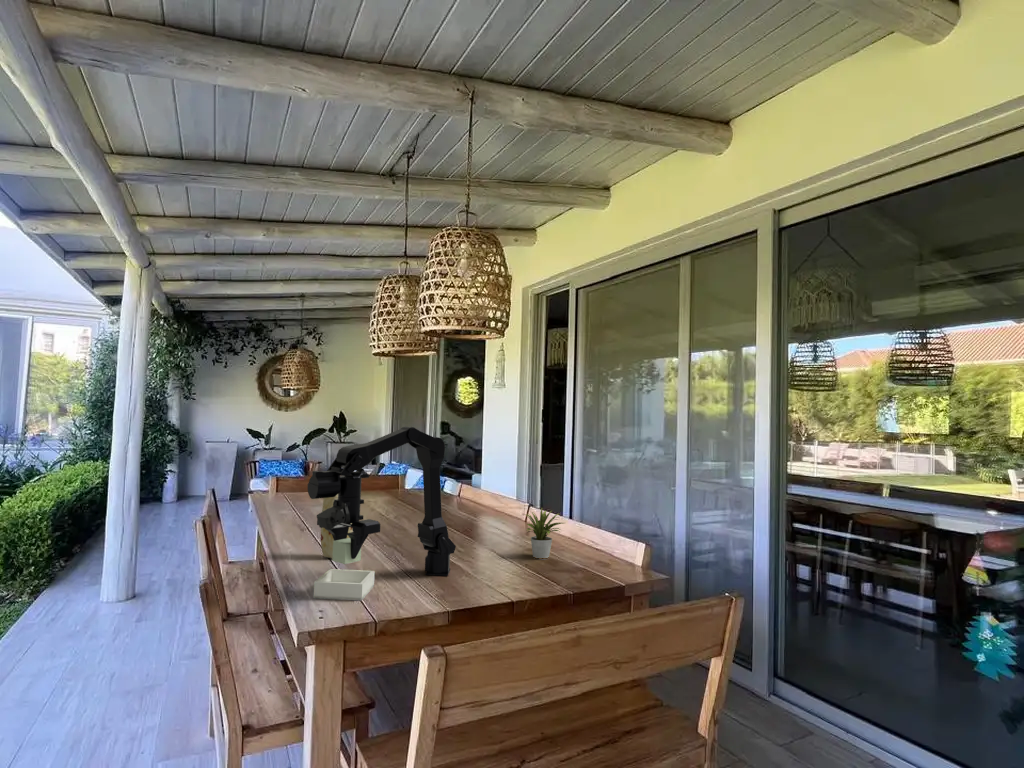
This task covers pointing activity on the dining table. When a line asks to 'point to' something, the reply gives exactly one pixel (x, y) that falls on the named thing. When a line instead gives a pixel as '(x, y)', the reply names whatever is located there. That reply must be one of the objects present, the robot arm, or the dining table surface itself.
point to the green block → (344, 552)
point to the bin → (344, 584)
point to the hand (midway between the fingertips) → (346, 556)
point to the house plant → (541, 534)
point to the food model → (326, 535)
